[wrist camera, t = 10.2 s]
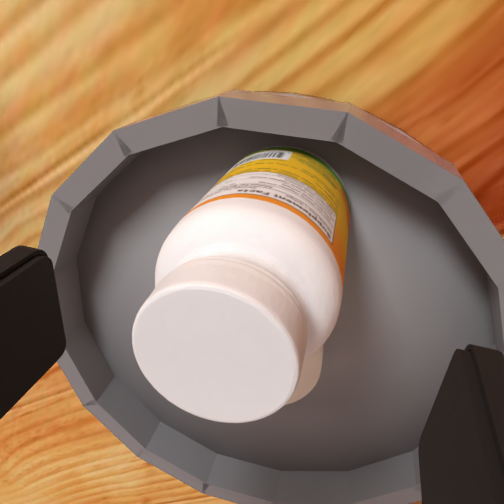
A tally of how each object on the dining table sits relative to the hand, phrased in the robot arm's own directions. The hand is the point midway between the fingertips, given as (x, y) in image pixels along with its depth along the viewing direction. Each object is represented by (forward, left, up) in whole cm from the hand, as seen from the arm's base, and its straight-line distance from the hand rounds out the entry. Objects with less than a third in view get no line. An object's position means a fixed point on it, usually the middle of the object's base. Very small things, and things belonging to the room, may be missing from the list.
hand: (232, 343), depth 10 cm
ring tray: (+1, +7, -10) cm, 12 cm away
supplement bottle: (0, 0, -10) cm, 10 cm away
